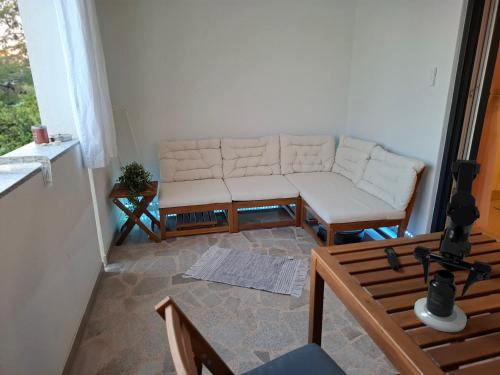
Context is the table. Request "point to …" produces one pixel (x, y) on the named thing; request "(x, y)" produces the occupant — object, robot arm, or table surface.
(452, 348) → the table surface
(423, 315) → the saucer
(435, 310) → the supplement bottle
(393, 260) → the electric trimmer
